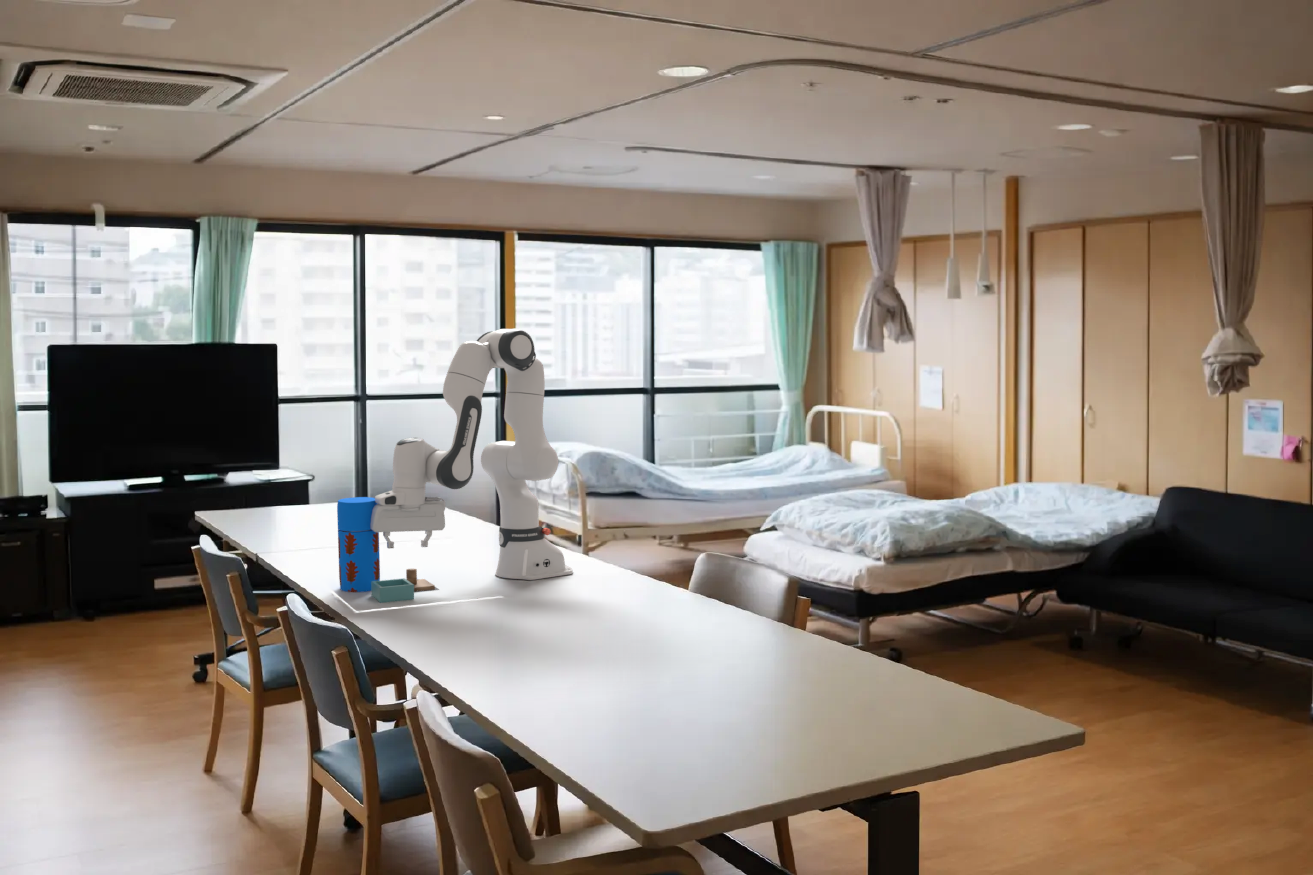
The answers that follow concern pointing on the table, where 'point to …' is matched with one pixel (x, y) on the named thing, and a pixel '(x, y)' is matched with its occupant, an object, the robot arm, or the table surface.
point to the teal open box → (392, 590)
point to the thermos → (357, 544)
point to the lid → (418, 581)
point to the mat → (427, 590)
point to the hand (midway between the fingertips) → (407, 547)
